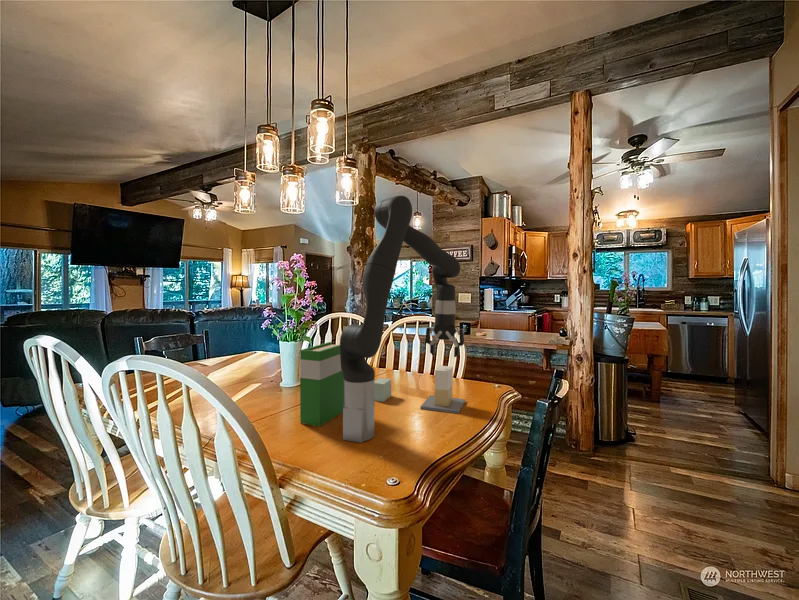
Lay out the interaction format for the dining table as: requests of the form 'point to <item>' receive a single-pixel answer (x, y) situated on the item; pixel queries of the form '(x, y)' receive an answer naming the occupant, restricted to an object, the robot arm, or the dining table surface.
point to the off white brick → (443, 377)
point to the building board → (441, 408)
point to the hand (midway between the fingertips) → (444, 355)
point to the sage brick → (382, 389)
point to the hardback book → (321, 384)
